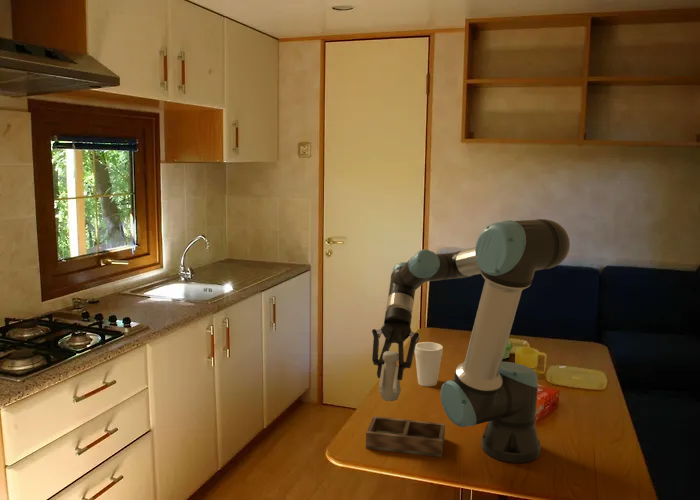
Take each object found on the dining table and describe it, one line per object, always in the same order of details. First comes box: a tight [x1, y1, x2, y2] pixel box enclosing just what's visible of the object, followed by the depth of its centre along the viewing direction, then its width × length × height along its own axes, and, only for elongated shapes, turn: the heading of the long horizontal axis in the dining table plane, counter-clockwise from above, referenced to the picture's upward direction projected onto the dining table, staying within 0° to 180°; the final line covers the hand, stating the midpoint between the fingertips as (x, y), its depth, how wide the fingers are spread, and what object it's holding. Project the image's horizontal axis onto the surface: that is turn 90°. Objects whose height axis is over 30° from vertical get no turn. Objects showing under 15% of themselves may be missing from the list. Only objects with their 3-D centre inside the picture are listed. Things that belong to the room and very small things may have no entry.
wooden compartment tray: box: [365, 415, 446, 458], centre depth 166 cm, size 20×10×4 cm, turn 77°
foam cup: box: [414, 341, 444, 387], centre depth 209 cm, size 10×9×13 cm
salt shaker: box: [378, 350, 402, 402], centre depth 165 cm, size 6×6×13 cm
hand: (387, 389), depth 162 cm, fingers closed on salt shaker, 3 cm apart
